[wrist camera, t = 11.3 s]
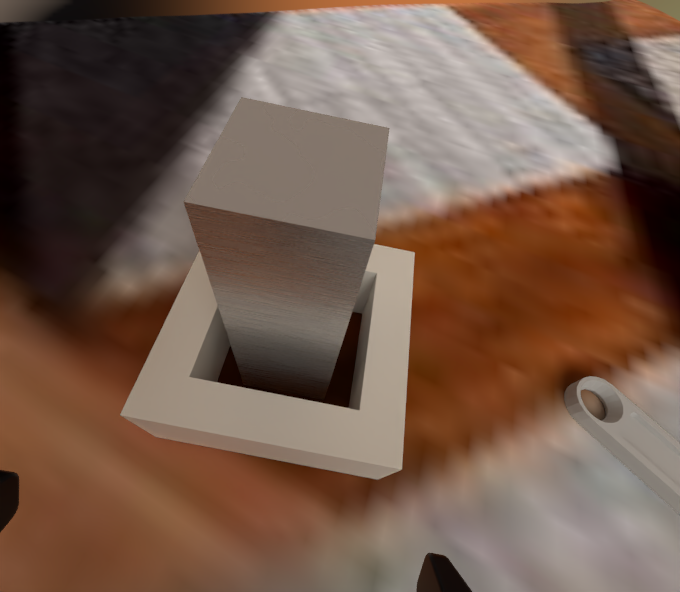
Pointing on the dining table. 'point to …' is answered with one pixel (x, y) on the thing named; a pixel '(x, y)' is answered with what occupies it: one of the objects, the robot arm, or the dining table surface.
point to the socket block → (278, 410)
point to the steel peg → (288, 237)
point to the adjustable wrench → (630, 437)
